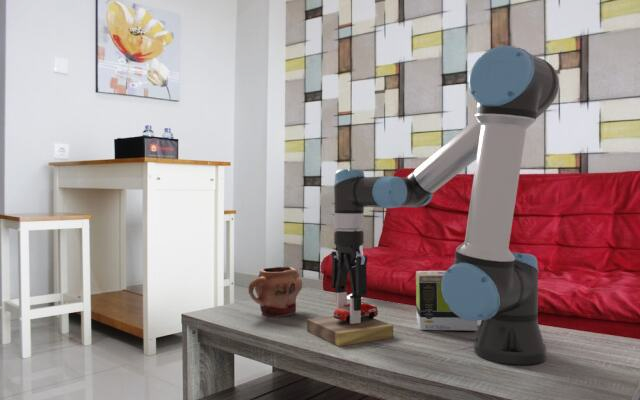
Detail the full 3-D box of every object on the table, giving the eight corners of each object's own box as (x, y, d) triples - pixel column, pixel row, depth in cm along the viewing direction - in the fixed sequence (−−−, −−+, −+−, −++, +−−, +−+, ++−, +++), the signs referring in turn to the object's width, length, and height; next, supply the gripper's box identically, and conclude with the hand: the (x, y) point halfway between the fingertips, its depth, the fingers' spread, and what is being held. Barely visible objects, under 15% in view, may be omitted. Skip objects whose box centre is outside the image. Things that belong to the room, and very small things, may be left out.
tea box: (470, 322, 143) (470, 270, 143) (477, 332, 133) (477, 275, 133) (415, 321, 145) (415, 269, 145) (419, 330, 135) (419, 274, 135)
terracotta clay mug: (267, 325, 141) (267, 274, 140) (236, 318, 148) (236, 270, 148) (312, 312, 156) (312, 266, 156) (282, 306, 164) (282, 263, 164)
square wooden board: (393, 337, 128) (393, 325, 128) (338, 346, 120) (338, 333, 120) (358, 323, 142) (358, 312, 142) (307, 330, 134) (307, 319, 134)
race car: (341, 324, 127) (342, 308, 127) (328, 318, 131) (329, 303, 131) (381, 318, 134) (382, 303, 134) (367, 313, 139) (368, 298, 139)
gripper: (382, 231, 125) (381, 326, 125) (342, 227, 141) (341, 311, 141) (356, 232, 121) (355, 330, 121) (318, 228, 138) (317, 314, 138)
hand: (348, 319), depth 131 cm, fingers closed on race car, 6 cm apart
